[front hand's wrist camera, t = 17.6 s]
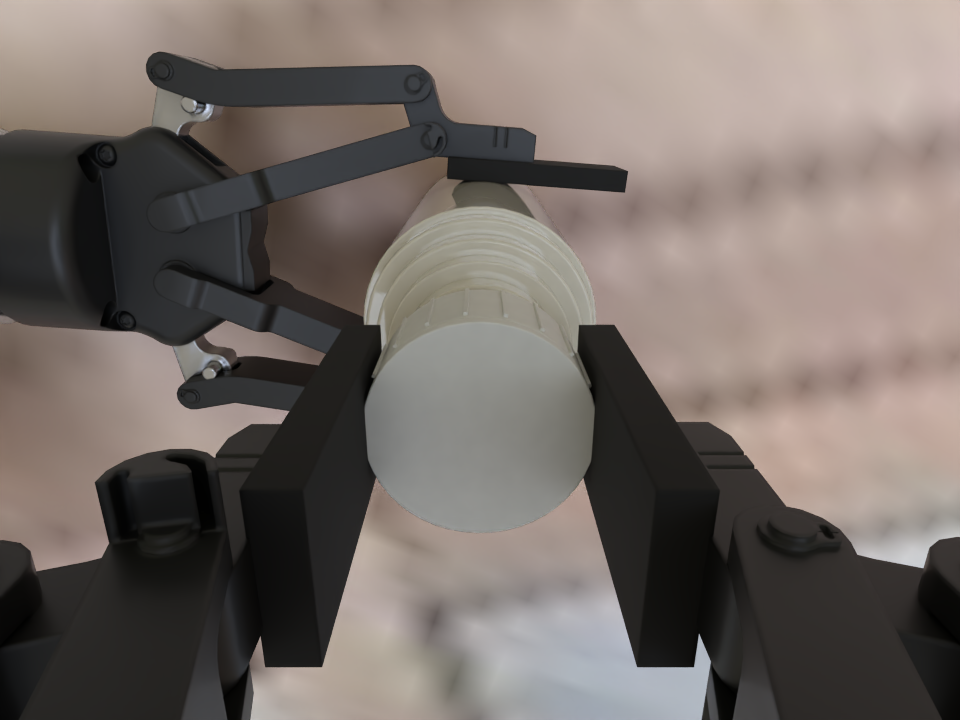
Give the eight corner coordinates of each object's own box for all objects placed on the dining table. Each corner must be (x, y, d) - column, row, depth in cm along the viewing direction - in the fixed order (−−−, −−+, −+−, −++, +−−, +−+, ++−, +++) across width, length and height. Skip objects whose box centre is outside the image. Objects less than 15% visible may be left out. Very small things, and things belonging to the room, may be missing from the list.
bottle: (411, 295, 33) (314, 551, 14) (415, 161, 31) (305, 239, 11) (539, 303, 33) (623, 567, 14) (552, 170, 31) (675, 263, 12)
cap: (543, 254, 13) (556, 281, 11) (608, 438, 15) (630, 494, 12) (344, 329, 14) (318, 369, 12) (425, 499, 15) (416, 563, 13)
